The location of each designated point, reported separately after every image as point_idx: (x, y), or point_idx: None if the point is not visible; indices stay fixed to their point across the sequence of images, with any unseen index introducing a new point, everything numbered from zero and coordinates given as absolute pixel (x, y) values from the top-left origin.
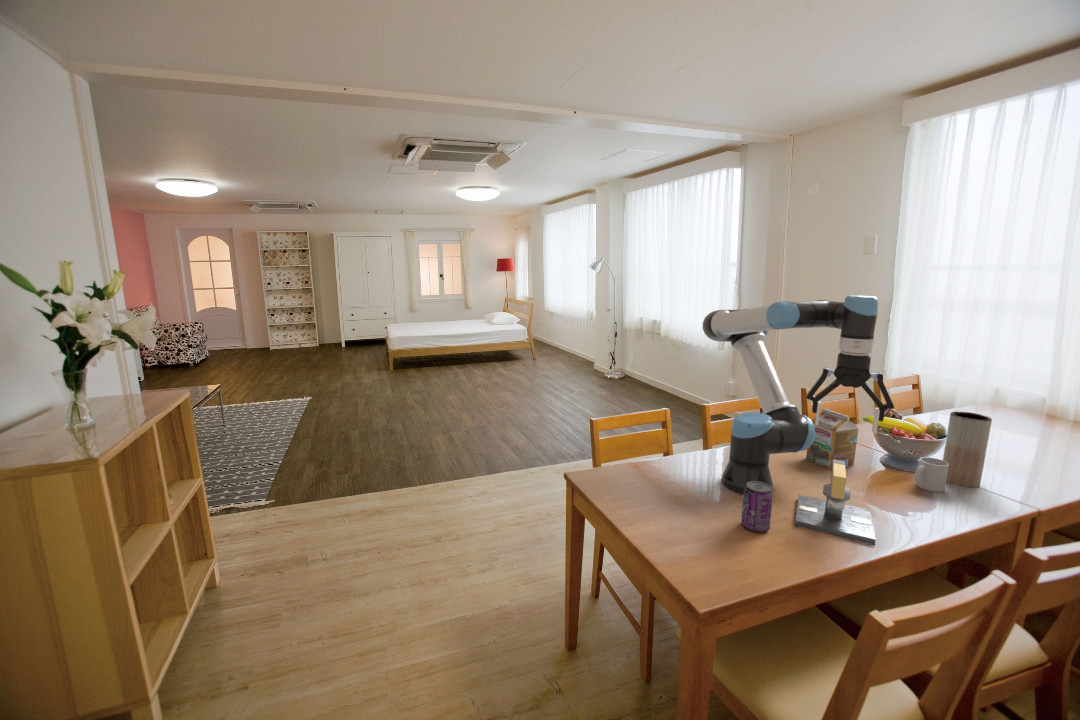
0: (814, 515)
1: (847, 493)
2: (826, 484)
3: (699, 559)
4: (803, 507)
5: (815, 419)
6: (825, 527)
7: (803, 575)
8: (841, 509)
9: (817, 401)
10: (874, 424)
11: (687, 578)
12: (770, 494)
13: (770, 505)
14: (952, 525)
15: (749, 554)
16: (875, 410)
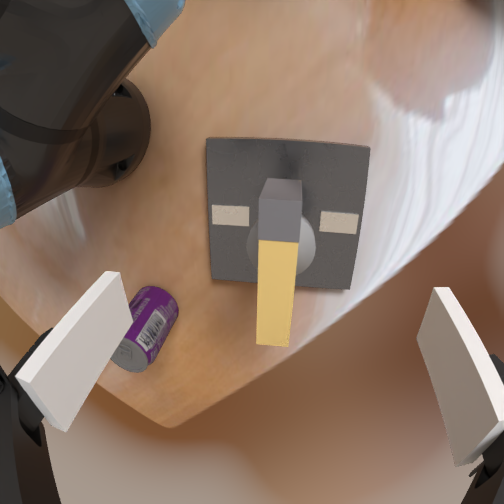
0: (244, 239)
1: (304, 268)
2: (254, 230)
3: (136, 384)
4: (220, 214)
5: (95, 285)
6: None
7: (238, 385)
8: None
9: (42, 431)
10: (431, 379)
11: (142, 406)
12: (151, 360)
13: (161, 346)
14: (501, 138)
15: (174, 366)
16: (475, 428)
